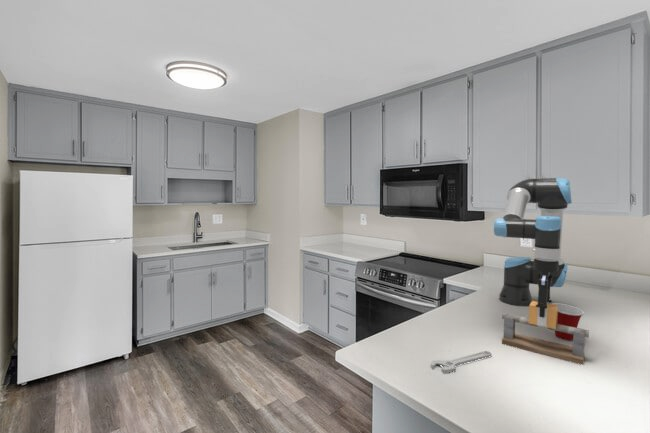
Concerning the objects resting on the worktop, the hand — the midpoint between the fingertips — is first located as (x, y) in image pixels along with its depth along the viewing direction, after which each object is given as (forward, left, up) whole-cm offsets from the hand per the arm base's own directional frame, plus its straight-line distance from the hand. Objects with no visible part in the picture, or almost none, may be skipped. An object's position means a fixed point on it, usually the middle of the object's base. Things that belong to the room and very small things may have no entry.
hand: (542, 322), depth 119 cm
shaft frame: (0, 0, -10) cm, 10 cm away
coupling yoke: (0, 0, 0) cm, 0 cm away
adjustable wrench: (+29, -19, -10) cm, 36 cm away
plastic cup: (-17, +6, -10) cm, 21 cm away
